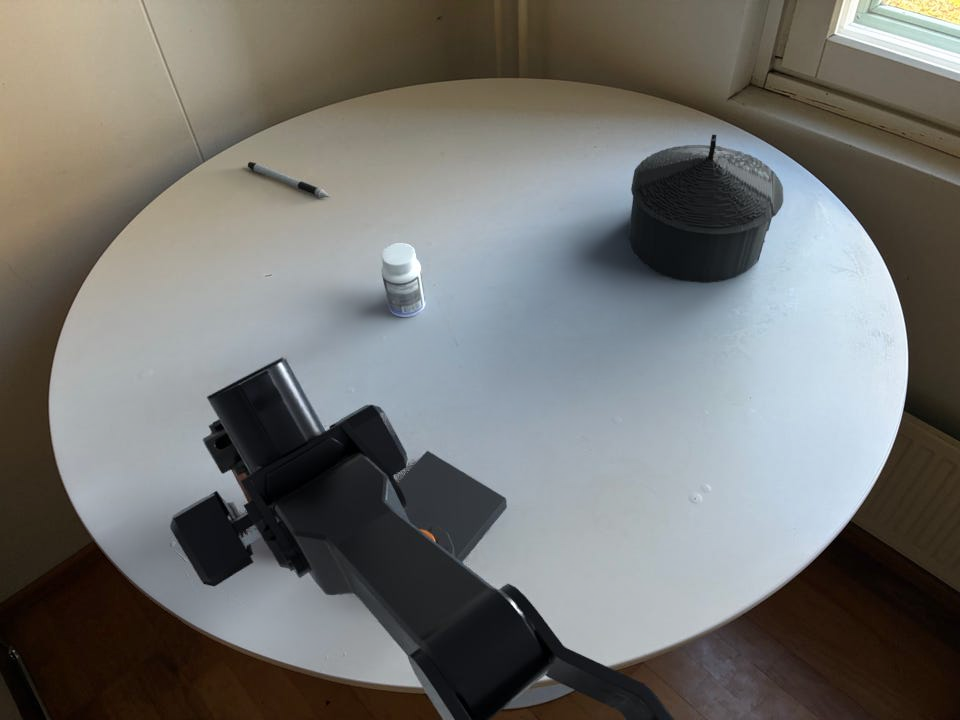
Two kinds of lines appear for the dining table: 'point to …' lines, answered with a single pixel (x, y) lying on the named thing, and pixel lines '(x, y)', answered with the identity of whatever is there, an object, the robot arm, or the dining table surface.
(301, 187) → the pen
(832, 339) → the dining table surface
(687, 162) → the hut
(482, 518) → the scale
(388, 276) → the pill bottle
